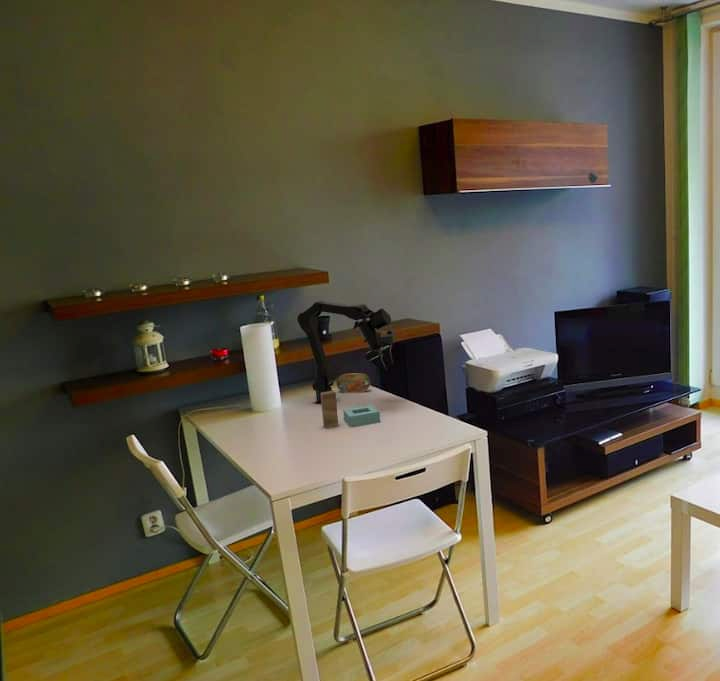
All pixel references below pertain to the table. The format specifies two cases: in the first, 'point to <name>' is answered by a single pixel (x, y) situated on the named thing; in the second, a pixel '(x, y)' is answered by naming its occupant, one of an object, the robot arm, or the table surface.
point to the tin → (353, 383)
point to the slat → (329, 409)
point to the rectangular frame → (361, 416)
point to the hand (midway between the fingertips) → (388, 367)
